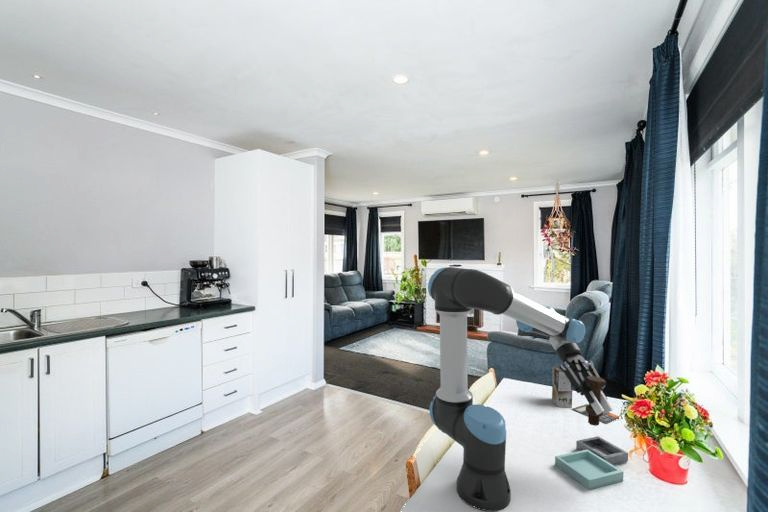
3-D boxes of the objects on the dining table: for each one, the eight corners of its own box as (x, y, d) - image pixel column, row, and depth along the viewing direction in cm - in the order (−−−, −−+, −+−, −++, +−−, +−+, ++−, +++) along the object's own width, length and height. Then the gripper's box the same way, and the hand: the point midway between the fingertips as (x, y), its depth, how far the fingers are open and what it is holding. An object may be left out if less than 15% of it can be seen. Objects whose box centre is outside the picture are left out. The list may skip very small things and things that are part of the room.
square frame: (605, 467, 119) (605, 458, 119) (576, 449, 130) (576, 440, 130) (627, 461, 122) (628, 452, 122) (597, 444, 133) (598, 436, 133)
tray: (589, 489, 108) (589, 480, 108) (554, 464, 120) (555, 456, 120) (623, 480, 112) (623, 471, 112) (587, 457, 124) (587, 449, 124)
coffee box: (572, 408, 164) (573, 372, 163) (557, 406, 165) (558, 371, 164) (565, 399, 173) (566, 366, 172) (551, 398, 174) (552, 365, 174)
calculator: (606, 422, 149) (571, 408, 162) (606, 425, 149) (571, 410, 162) (621, 416, 155) (587, 403, 168) (621, 419, 155) (587, 405, 168)
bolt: (605, 429, 115) (607, 382, 115) (588, 427, 116) (590, 380, 116) (598, 421, 121) (600, 376, 121) (582, 419, 122) (584, 374, 122)
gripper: (575, 350, 136) (615, 413, 120) (541, 353, 130) (578, 419, 115) (588, 340, 131) (631, 404, 115) (553, 342, 125) (593, 410, 110)
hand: (605, 412), depth 115 cm, fingers closed on bolt, 3 cm apart
